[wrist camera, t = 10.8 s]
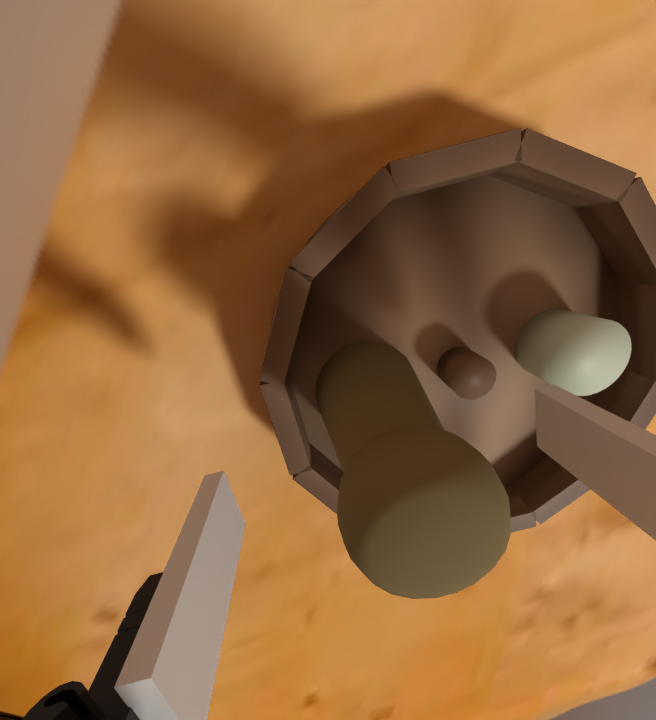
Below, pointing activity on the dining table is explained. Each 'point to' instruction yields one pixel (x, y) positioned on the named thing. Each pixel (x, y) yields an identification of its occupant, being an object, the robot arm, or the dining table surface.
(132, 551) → the dining table surface
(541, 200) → the tray
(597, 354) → the pale beige rounded lump
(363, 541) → the olive green knobbed peg
